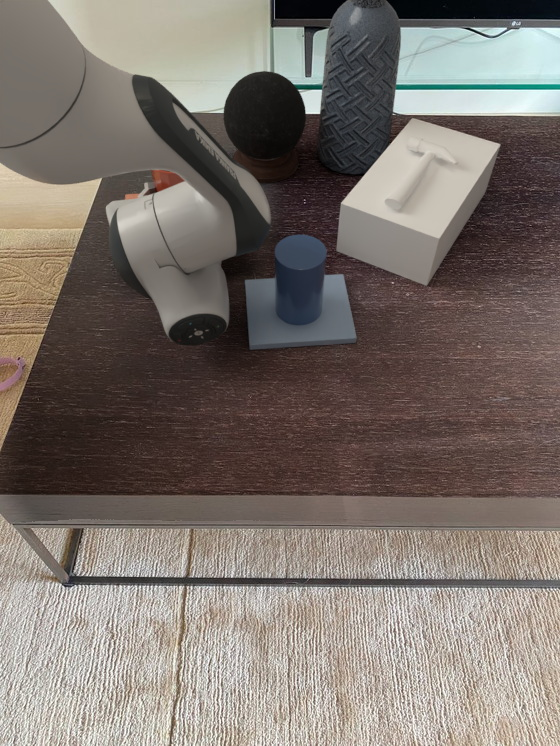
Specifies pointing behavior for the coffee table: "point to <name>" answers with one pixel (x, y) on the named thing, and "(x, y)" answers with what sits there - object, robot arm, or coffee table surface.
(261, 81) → the black ball on stand
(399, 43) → the vase
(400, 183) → the hammer relief block
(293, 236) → the navy blue cylinder
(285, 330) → the blue mat
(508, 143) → the coffee table surface
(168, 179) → the terracotta cup
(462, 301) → the coffee table surface
